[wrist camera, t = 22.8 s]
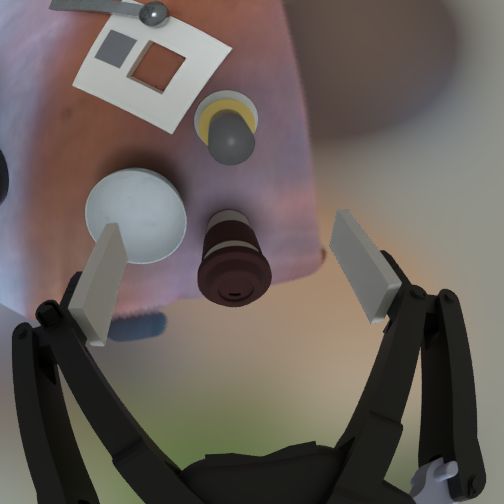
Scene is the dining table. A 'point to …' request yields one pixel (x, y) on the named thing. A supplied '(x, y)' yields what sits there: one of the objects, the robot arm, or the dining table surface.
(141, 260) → the chinaware
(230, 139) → the plug
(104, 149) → the dining table surface
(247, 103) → the mat
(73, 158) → the dining table surface
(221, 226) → the coffee cup
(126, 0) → the socket block
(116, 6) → the grey lever handle
